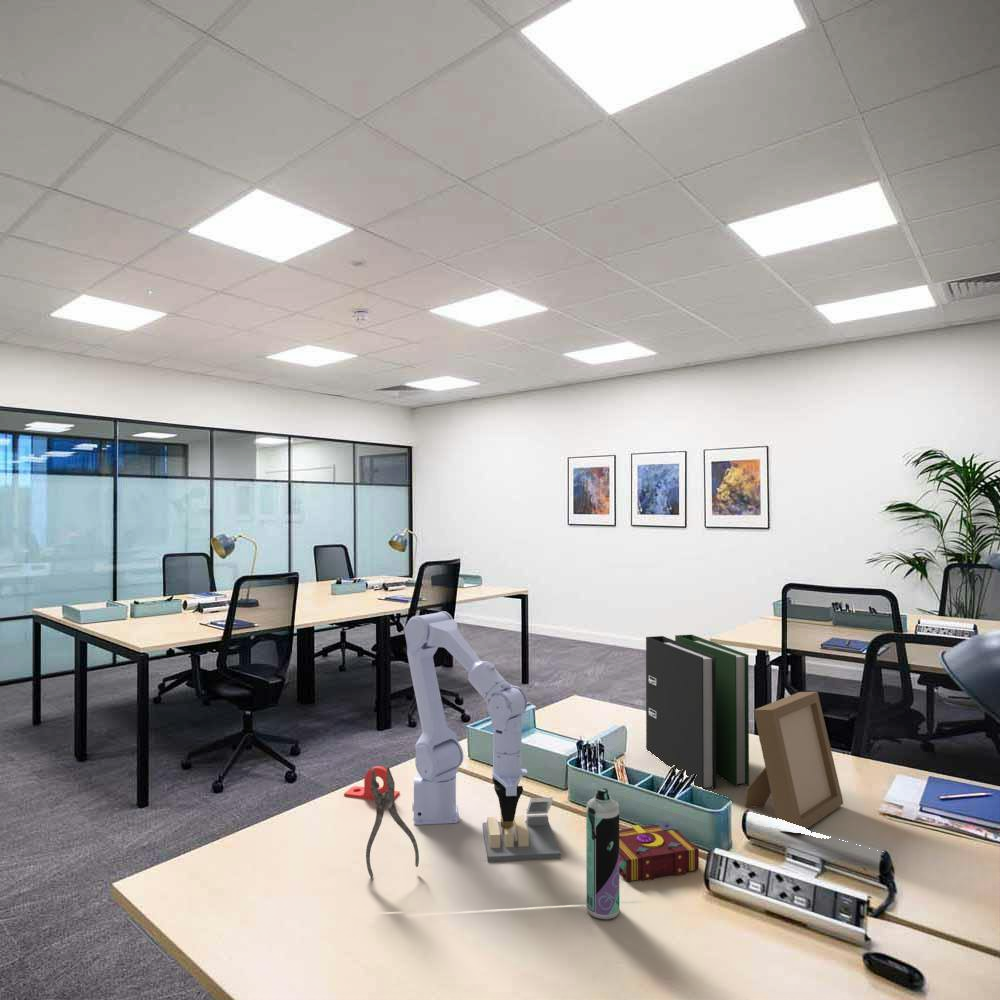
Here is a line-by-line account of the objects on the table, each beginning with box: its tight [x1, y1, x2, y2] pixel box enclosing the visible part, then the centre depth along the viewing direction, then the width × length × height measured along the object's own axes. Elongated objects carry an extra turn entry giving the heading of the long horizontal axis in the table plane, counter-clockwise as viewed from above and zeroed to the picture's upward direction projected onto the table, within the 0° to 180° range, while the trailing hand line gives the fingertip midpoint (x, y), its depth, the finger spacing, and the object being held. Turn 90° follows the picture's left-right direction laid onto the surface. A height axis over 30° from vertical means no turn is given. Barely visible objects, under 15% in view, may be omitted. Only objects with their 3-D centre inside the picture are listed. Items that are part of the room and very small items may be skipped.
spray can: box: [585, 788, 620, 920], centre depth 113 cm, size 6×6×20 cm
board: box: [481, 814, 561, 863], centre depth 135 cm, size 14×14×4 cm
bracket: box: [343, 765, 400, 801], centre depth 157 cm, size 12×4×8 cm, turn 74°
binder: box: [645, 634, 750, 791], centre depth 174 cm, size 27×15×32 cm, turn 15°
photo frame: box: [744, 691, 844, 829], centre depth 150 cm, size 15×22×25 cm
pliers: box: [365, 765, 420, 879], centre depth 123 cm, size 10×1×20 cm, turn 101°
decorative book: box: [619, 821, 700, 882], centre depth 128 cm, size 11×16×5 cm
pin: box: [500, 813, 514, 828], centre depth 135 cm, size 3×3×6 cm
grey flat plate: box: [526, 796, 554, 815], centre depth 139 cm, size 4×8×1 cm
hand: (507, 817), depth 135 cm, fingers closed on pin, 3 cm apart
